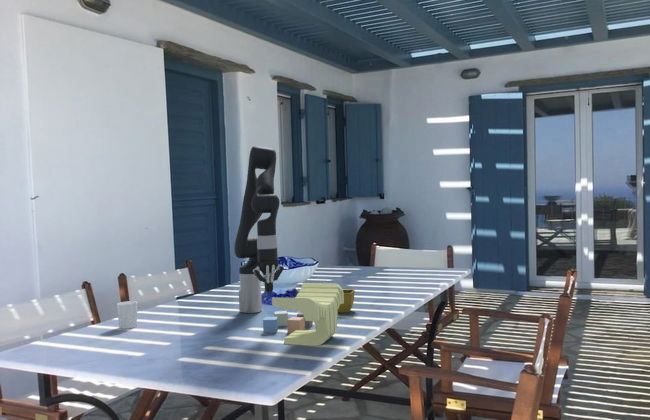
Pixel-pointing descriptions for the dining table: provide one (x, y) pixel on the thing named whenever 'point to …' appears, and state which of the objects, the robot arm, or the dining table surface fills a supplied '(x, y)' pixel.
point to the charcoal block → (307, 323)
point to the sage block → (281, 317)
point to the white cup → (127, 314)
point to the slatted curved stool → (314, 311)
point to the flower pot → (347, 301)
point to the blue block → (270, 325)
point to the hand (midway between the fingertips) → (269, 292)
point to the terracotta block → (295, 324)
